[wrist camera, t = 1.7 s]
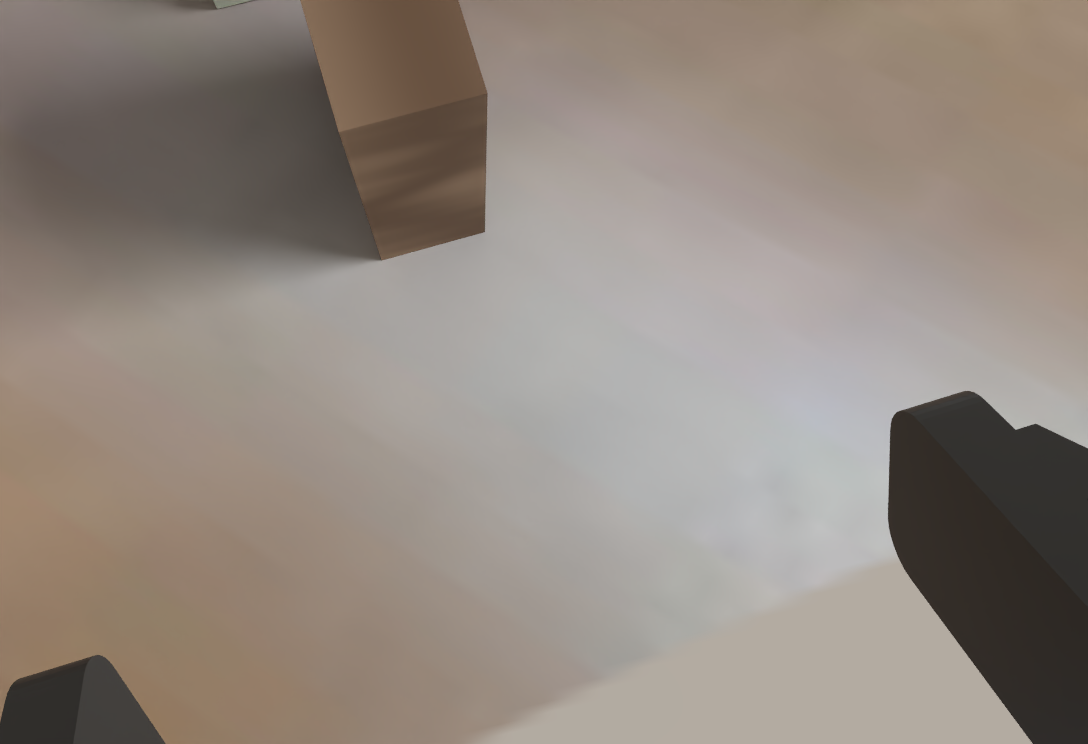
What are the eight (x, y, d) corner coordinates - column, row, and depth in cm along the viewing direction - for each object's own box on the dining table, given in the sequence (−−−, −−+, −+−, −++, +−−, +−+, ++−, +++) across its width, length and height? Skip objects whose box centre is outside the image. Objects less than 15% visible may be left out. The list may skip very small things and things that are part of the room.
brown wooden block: (381, 260, 29) (338, 131, 20) (325, 66, 30) (259, -139, 21) (484, 232, 29) (487, 93, 20) (426, 41, 30) (404, -172, 21)
